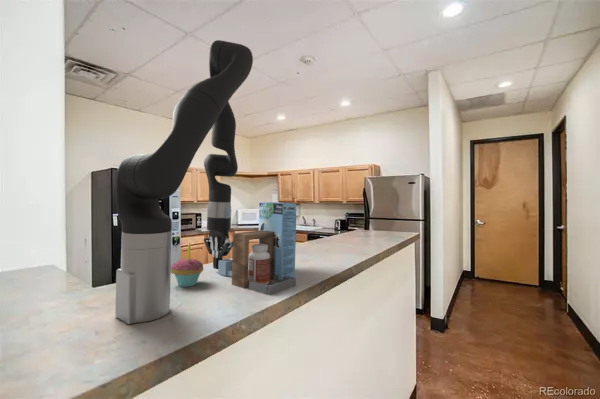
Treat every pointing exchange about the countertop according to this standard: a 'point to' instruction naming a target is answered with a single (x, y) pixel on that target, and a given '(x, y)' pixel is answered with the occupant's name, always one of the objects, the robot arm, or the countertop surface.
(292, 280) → the dock
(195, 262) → the cupcake
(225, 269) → the sled
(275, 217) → the light blue upright box
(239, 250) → the tunnel
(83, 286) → the countertop surface
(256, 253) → the pill bottle
